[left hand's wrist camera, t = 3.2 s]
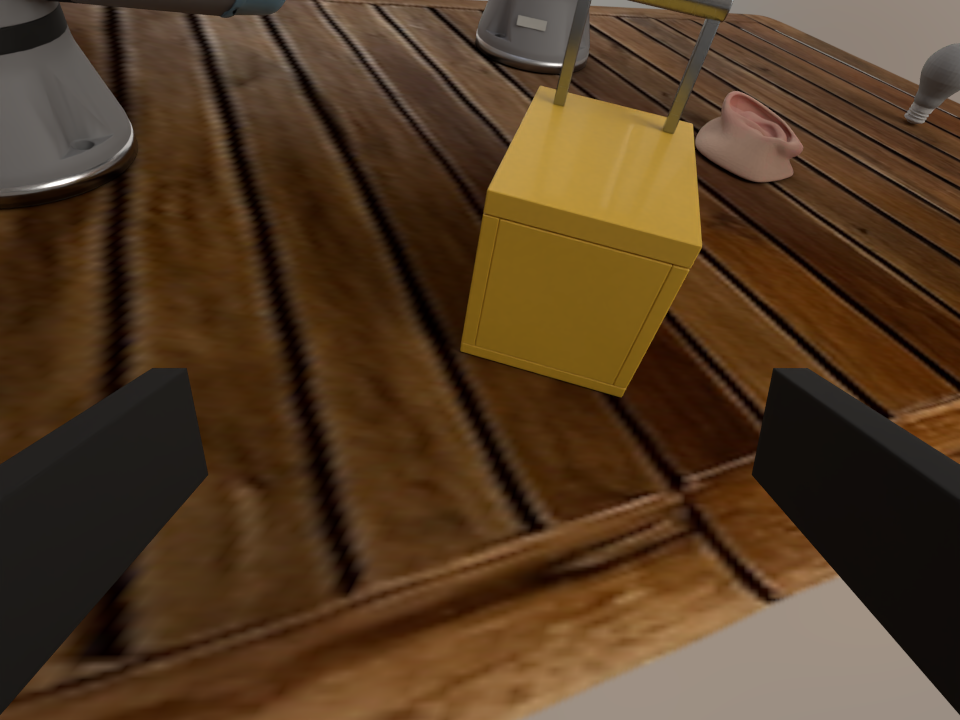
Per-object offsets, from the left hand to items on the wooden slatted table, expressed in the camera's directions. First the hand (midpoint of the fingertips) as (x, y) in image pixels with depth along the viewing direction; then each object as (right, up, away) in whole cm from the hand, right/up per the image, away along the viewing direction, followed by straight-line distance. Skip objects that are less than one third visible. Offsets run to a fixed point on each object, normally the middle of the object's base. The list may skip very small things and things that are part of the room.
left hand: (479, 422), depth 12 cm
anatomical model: (+29, +24, +48) cm, 61 cm away
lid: (+7, +12, +18) cm, 23 cm away
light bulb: (+61, +35, +64) cm, 95 cm away
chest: (+5, +5, +25) cm, 26 cm away
